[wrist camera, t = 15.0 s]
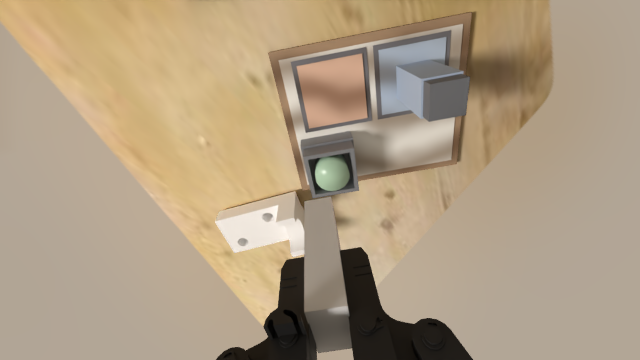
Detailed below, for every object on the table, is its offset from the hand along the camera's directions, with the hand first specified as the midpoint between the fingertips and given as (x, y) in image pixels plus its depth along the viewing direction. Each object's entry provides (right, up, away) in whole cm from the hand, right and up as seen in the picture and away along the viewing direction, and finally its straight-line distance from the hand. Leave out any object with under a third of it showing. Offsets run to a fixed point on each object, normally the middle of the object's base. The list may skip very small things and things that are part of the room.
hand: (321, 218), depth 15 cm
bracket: (-9, -4, +31) cm, 32 cm away
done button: (+1, +4, +22) cm, 22 cm away
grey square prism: (+12, +15, +19) cm, 27 cm away
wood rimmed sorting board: (+7, +11, +22) cm, 26 cm away
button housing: (+1, +6, +25) cm, 26 cm away
